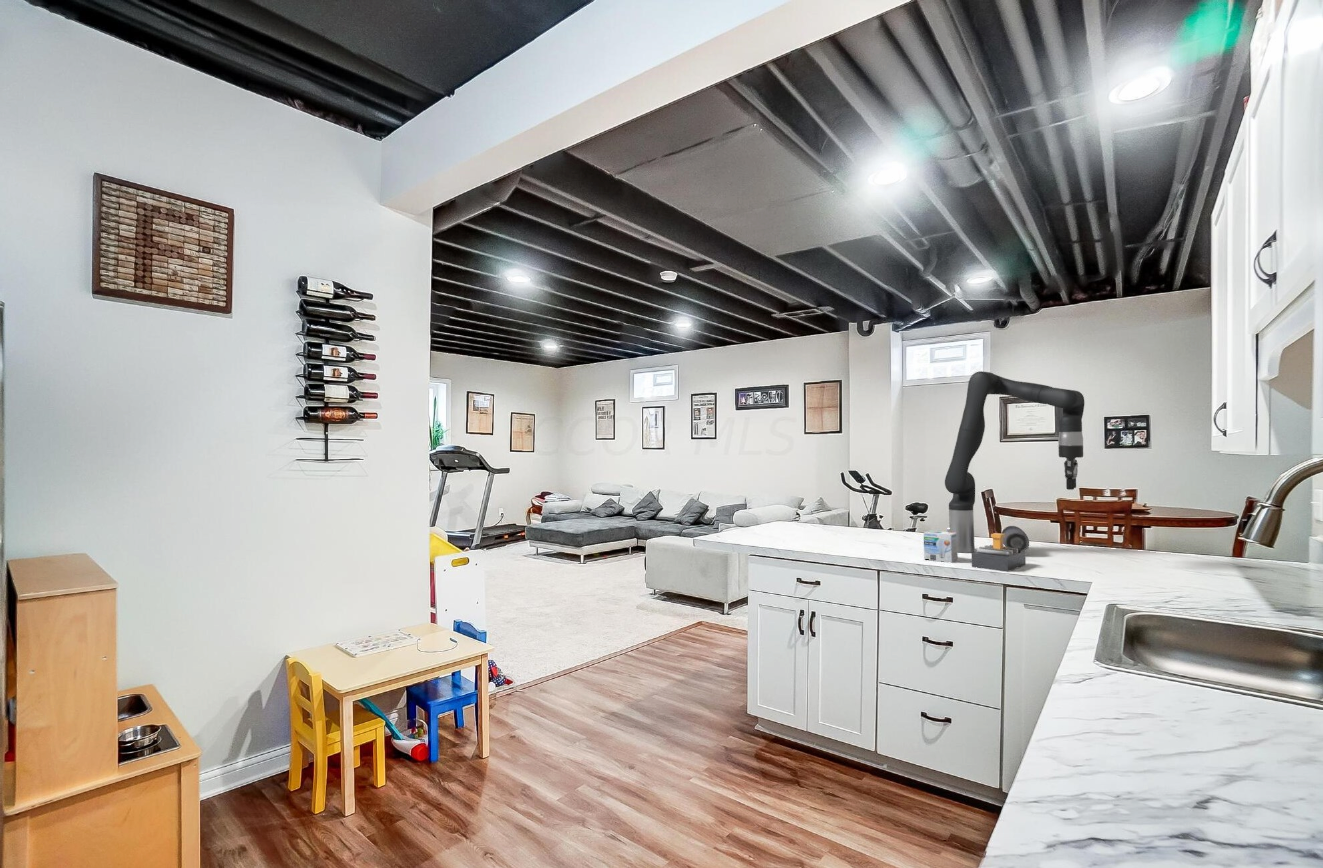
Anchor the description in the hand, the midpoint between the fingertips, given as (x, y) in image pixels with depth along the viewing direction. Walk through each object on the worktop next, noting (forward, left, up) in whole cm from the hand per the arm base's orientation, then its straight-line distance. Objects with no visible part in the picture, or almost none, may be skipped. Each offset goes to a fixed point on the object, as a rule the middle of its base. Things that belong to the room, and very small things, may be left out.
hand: (1071, 488), depth 223 cm
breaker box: (-18, -21, -28) cm, 39 cm away
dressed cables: (-17, -21, -23) cm, 35 cm away
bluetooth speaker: (-25, +14, -28) cm, 40 cm away
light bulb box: (-38, -24, -28) cm, 52 cm away
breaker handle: (-18, -21, -22) cm, 35 cm away
